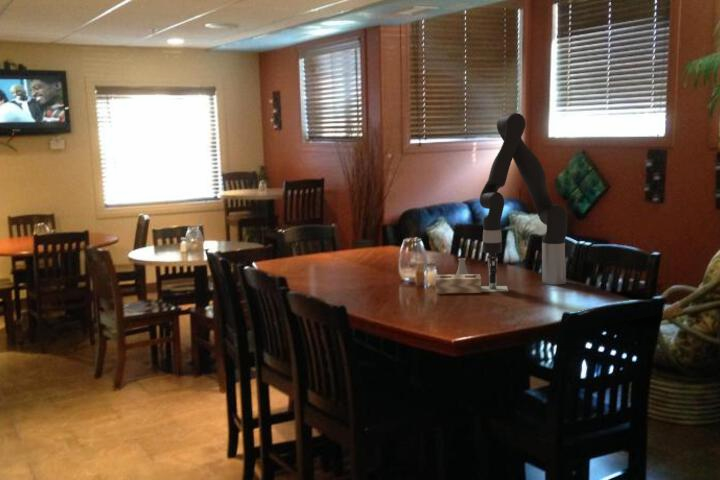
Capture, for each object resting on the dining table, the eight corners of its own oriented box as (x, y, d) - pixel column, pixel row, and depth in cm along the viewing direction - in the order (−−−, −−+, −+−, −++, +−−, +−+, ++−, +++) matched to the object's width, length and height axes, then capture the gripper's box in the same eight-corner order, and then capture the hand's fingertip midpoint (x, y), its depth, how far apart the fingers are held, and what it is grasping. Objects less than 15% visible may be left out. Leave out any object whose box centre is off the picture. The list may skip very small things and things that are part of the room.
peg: (496, 287, 295) (495, 264, 294) (496, 289, 292) (496, 265, 291) (488, 287, 295) (488, 264, 294) (489, 289, 292) (488, 265, 291)
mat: (506, 286, 298) (506, 285, 298) (508, 292, 288) (508, 291, 288) (477, 287, 299) (477, 286, 299) (478, 292, 290) (478, 291, 290)
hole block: (480, 288, 297) (479, 274, 296) (481, 293, 288) (481, 278, 287) (436, 288, 300) (436, 274, 299) (436, 294, 290) (435, 279, 289)
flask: (470, 283, 309) (470, 260, 307) (453, 283, 310) (453, 260, 309) (471, 279, 316) (470, 257, 314) (454, 279, 317) (454, 257, 316)
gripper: (502, 243, 284) (503, 285, 286) (500, 238, 297) (500, 278, 300) (483, 243, 284) (484, 286, 287) (482, 238, 298) (482, 279, 301)
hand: (492, 282), depth 293 cm, fingers closed on peg, 3 cm apart
